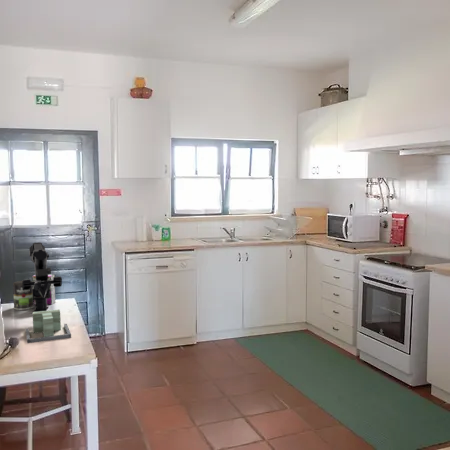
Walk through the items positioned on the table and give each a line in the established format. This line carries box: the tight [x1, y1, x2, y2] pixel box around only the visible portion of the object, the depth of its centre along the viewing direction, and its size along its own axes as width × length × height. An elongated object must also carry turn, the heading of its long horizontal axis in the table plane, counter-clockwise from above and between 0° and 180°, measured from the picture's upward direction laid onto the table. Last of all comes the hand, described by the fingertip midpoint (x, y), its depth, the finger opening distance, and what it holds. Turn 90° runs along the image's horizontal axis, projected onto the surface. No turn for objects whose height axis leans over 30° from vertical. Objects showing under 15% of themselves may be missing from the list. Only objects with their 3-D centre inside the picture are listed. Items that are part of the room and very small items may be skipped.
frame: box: [25, 323, 72, 344], centre depth 230 cm, size 18×18×2 cm
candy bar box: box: [31, 274, 56, 305], centre depth 285 cm, size 11×5×16 cm, turn 84°
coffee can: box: [12, 280, 35, 311], centre depth 277 cm, size 10×10×14 cm
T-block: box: [32, 309, 62, 337], centre depth 232 cm, size 14×12×9 cm
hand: (43, 297), depth 249 cm, fingers closed
